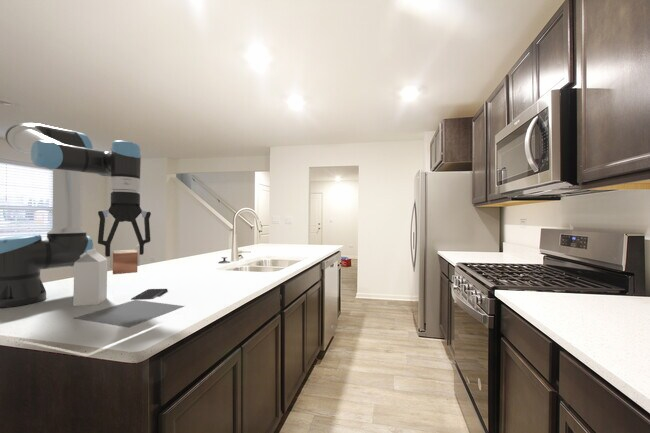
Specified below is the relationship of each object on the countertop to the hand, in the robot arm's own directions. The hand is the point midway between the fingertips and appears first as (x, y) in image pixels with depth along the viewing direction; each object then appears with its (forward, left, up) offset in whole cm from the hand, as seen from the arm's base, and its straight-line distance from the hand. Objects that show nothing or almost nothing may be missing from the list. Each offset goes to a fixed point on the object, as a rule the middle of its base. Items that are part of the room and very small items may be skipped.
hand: (124, 266), depth 90 cm
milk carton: (-22, +5, -16) cm, 27 cm away
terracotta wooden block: (0, 0, -1) cm, 1 cm away
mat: (+1, +2, -15) cm, 15 cm away
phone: (-12, +20, -16) cm, 28 cm away
